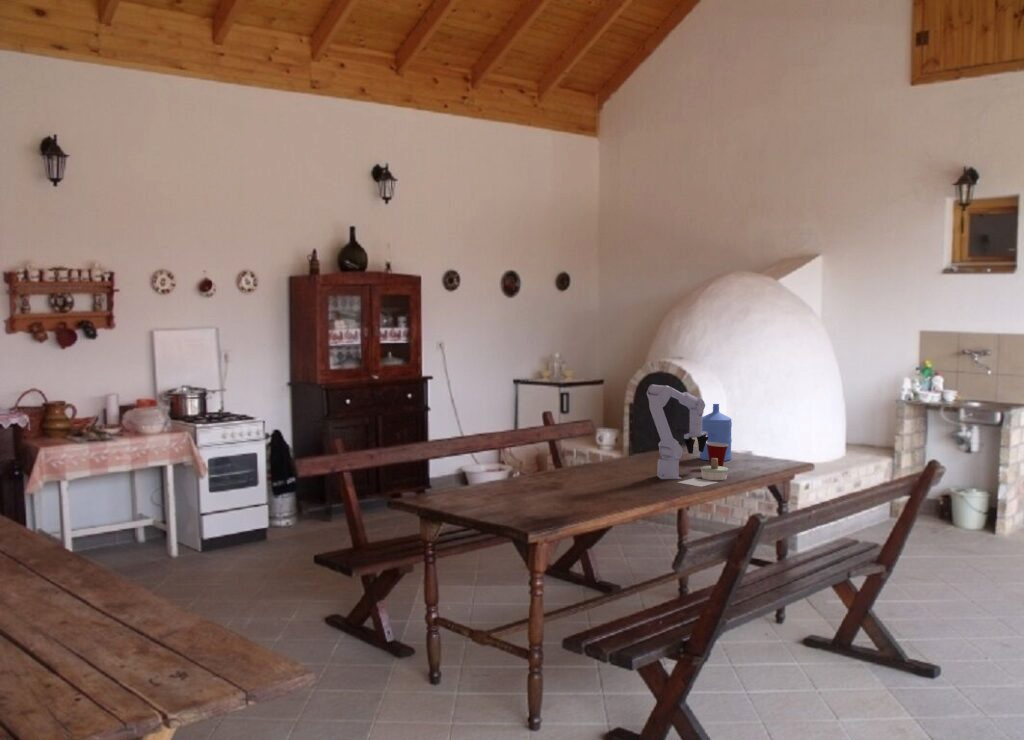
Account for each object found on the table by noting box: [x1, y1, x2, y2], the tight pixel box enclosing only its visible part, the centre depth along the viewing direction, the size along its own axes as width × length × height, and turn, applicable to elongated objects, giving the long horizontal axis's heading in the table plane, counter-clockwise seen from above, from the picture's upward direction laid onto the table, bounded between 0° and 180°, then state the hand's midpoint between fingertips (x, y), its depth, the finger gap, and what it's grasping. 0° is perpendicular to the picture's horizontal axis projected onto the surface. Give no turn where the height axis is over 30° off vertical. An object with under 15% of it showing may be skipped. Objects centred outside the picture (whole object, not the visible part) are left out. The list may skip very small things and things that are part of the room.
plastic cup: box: [706, 442, 729, 467], centre depth 445 cm, size 11×11×12 cm
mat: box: [676, 477, 719, 488], centre depth 410 cm, size 13×13×1 cm
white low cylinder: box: [700, 470, 728, 481], centre depth 419 cm, size 11×11×4 cm
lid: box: [700, 458, 729, 473], centre depth 419 cm, size 12×12×6 cm
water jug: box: [699, 403, 733, 462], centre depth 468 cm, size 16×16×28 cm
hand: (695, 452), depth 431 cm, fingers open, 7 cm apart
